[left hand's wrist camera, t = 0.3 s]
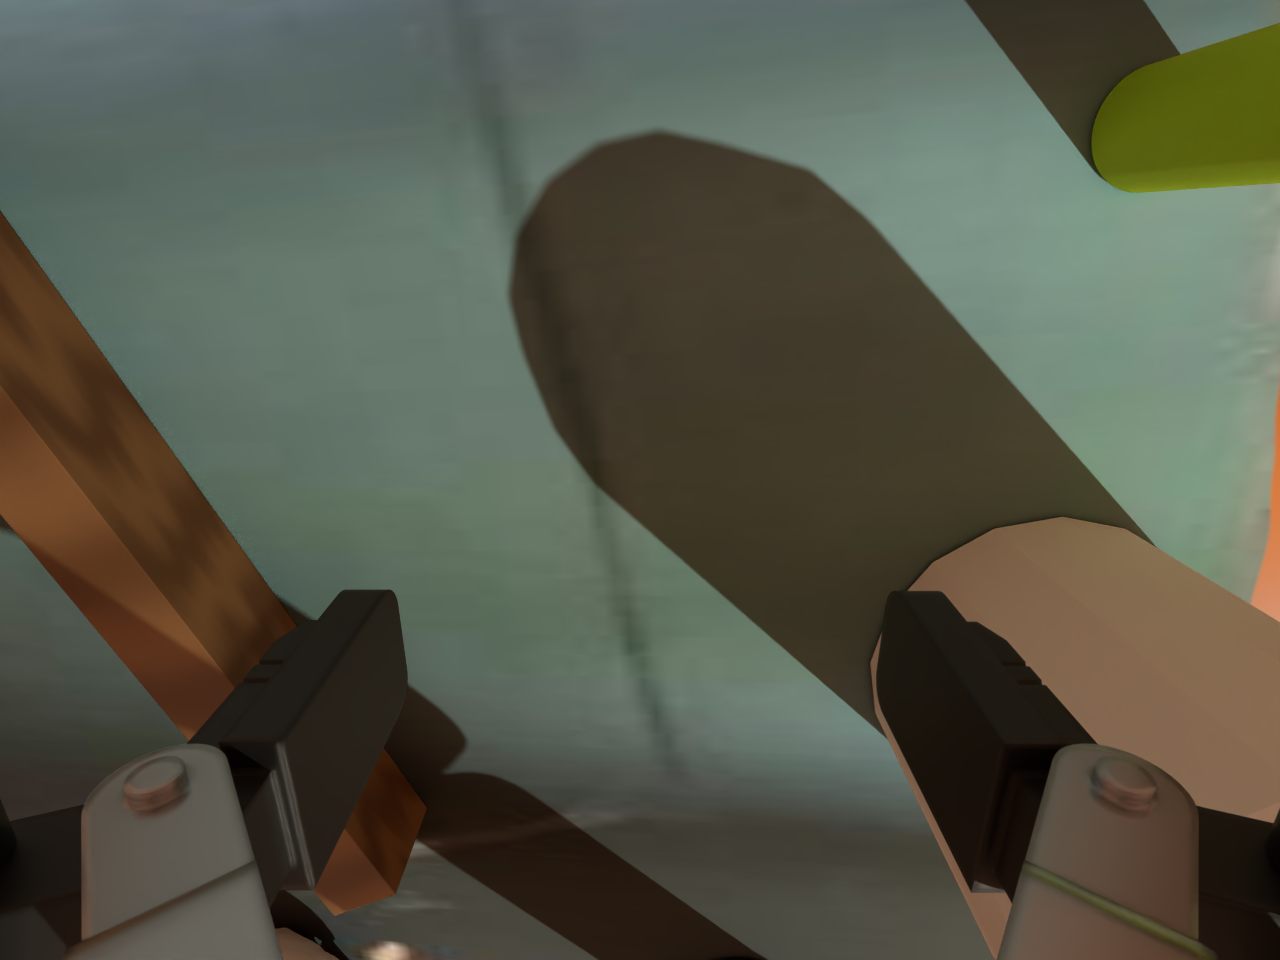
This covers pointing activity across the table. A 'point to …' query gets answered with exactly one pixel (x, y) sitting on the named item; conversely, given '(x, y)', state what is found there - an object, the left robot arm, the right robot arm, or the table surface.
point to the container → (1124, 661)
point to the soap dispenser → (1195, 119)
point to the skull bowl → (300, 947)
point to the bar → (151, 551)
